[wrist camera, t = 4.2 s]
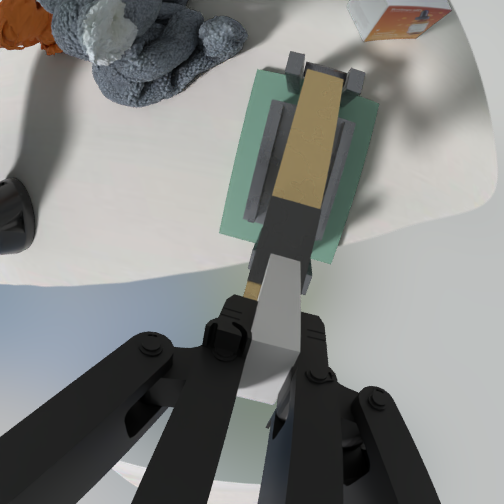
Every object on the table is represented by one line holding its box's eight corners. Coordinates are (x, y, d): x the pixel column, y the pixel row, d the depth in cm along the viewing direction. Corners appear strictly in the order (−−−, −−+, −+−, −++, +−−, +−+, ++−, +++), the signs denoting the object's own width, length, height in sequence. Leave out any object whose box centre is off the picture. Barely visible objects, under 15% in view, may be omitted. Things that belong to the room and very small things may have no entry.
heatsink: (284, 77, 27) (279, 47, 17) (352, 96, 26) (376, 75, 17) (244, 236, 35) (224, 272, 25) (307, 253, 34) (310, 296, 25)
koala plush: (260, 44, 26) (218, -53, 8) (152, 140, 32) (31, 150, 14) (179, -20, 22) (105, -90, 4) (91, 66, 29) (-14, 50, 11)
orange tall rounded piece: (101, -6, 23) (26, -39, 7) (92, 46, 27) (2, 24, 11) (55, 19, 25) (-17, 4, 8) (47, 69, 29) (-35, 64, 12)
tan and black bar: (305, 69, 20) (308, 55, 18) (343, 80, 20) (348, 67, 18) (238, 305, 17) (236, 306, 15) (292, 320, 16) (297, 322, 15)
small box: (362, 42, 24) (386, 6, 14) (345, 7, 22) (360, -36, 12) (417, 39, 22) (454, 11, 12) (400, 5, 20) (429, -31, 10)
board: (258, 71, 27) (257, 69, 26) (376, 105, 26) (379, 103, 25) (221, 230, 35) (219, 233, 34) (329, 260, 34) (330, 264, 33)
